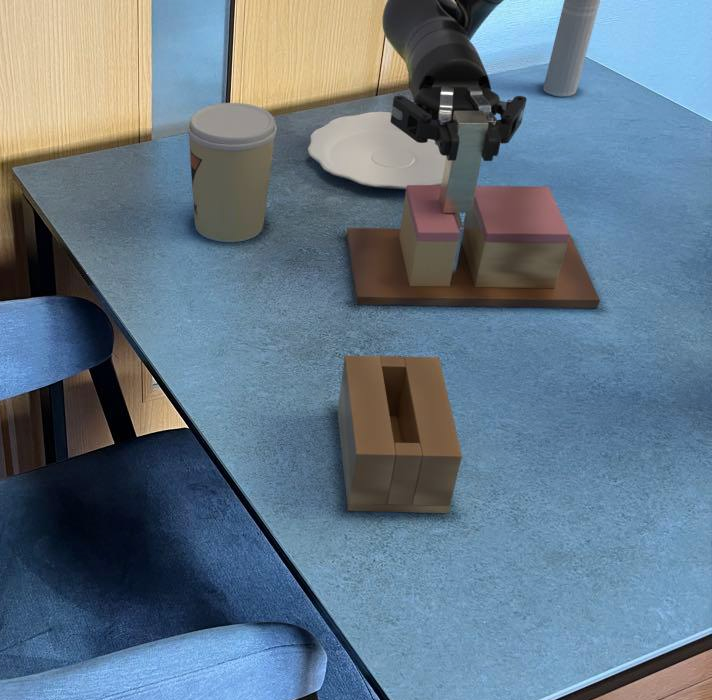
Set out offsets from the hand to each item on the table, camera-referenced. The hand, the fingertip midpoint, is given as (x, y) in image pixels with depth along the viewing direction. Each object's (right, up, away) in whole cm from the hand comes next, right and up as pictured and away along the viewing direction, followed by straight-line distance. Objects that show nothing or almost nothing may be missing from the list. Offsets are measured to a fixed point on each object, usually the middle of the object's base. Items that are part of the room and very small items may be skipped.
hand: (472, 150), depth 97 cm
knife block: (-10, -30, -10) cm, 33 cm away
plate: (-1, +10, +31) cm, 32 cm away
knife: (0, -6, +11) cm, 12 cm away
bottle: (+25, +25, +45) cm, 57 cm away
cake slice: (-2, -7, +11) cm, 14 cm away
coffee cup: (-22, -1, +19) cm, 29 cm away
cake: (+4, -8, +12) cm, 15 cm away
